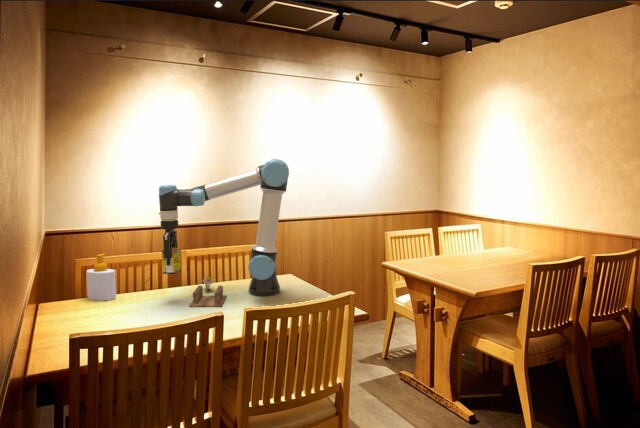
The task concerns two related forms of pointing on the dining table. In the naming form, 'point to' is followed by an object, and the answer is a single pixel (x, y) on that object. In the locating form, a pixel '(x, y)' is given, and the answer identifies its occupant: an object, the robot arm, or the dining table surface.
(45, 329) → the dining table surface
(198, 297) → the slot block
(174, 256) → the supplement box
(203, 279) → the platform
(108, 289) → the soap bottle
